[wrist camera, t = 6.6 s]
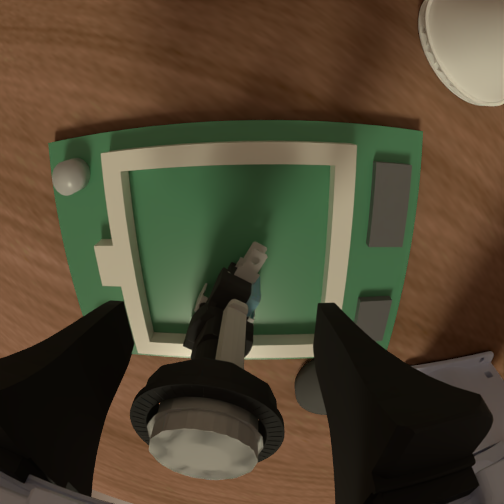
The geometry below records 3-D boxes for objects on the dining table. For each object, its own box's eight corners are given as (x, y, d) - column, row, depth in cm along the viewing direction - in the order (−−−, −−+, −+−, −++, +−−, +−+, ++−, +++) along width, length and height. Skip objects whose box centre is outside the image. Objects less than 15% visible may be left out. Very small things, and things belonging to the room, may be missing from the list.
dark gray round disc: (382, 343, 20) (387, 354, 19) (364, 399, 23) (368, 410, 21) (297, 348, 20) (299, 361, 19) (291, 405, 23) (292, 416, 22)
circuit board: (417, 130, 14) (434, 133, 13) (383, 347, 20) (391, 364, 18) (54, 142, 15) (36, 145, 13) (97, 344, 20) (88, 360, 19)
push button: (215, 216, 16) (162, 350, 7) (306, 264, 17) (349, 419, 8) (166, 312, 18) (110, 456, 9) (245, 349, 19) (238, 498, 10)
